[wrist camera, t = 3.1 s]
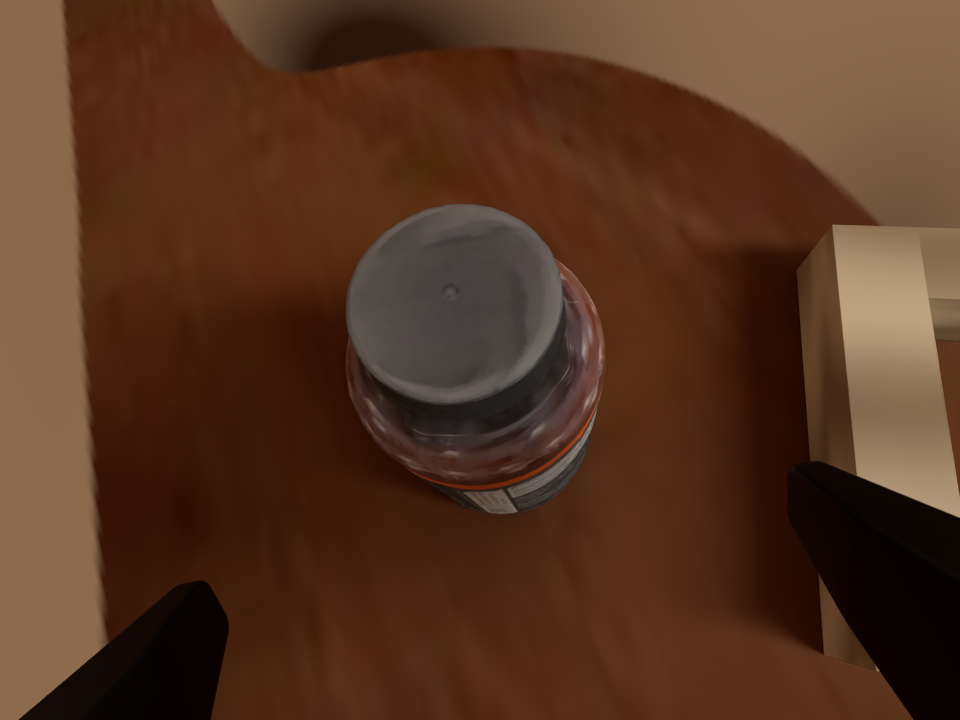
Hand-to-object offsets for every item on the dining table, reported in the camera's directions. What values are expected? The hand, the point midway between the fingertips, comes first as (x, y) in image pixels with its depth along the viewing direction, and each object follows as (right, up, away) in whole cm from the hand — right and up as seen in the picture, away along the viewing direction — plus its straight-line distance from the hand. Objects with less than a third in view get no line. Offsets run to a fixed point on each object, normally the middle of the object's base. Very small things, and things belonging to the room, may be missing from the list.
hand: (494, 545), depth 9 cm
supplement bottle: (+1, 0, +12) cm, 12 cm away
